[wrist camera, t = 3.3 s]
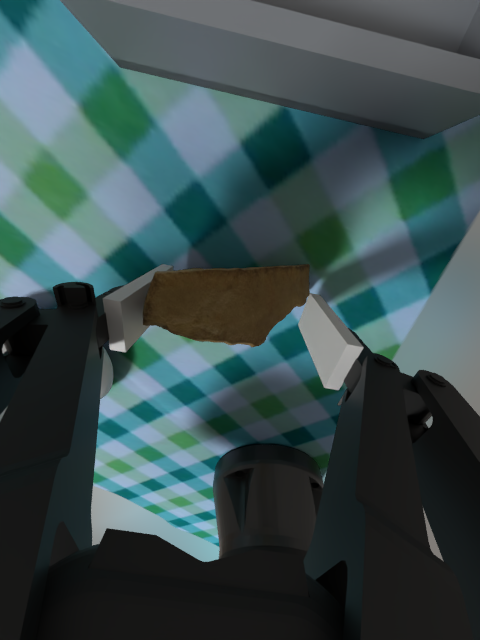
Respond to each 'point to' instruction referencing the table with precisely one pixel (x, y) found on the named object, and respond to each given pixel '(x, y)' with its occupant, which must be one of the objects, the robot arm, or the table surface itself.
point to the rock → (225, 301)
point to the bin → (308, 53)
